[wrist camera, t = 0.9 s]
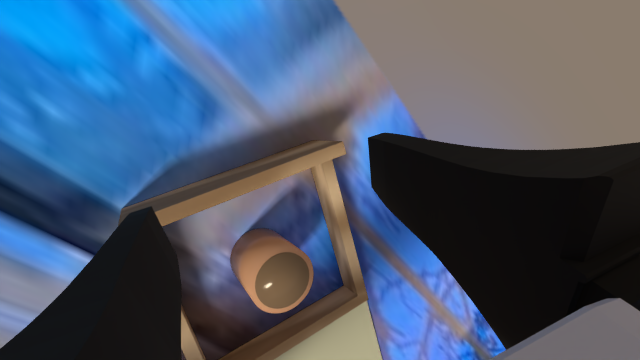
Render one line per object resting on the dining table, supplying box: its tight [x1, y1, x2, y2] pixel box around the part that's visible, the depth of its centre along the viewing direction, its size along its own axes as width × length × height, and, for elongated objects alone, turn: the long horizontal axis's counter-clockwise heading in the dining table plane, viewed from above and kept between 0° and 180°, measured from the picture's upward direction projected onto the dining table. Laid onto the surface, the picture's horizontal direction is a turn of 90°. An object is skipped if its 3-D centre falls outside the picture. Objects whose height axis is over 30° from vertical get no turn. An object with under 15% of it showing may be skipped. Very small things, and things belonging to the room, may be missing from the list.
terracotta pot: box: [230, 228, 313, 313], centre depth 27 cm, size 5×5×6 cm
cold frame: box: [118, 140, 368, 360], centre depth 27 cm, size 16×16×5 cm
